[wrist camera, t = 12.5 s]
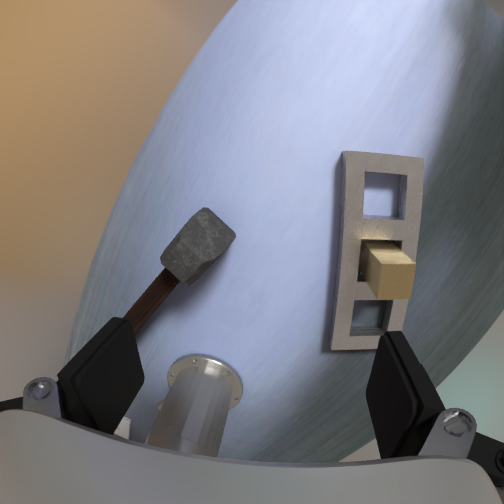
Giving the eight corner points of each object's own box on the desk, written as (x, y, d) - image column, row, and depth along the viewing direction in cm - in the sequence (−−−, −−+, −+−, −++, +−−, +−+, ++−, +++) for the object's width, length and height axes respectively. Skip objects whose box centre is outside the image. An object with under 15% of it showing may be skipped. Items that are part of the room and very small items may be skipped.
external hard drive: (83, 392, 53) (132, 418, 53) (85, 412, 56) (130, 436, 56) (80, 397, 52) (129, 423, 52) (82, 417, 54) (128, 441, 54)
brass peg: (386, 269, 38) (410, 298, 29) (359, 270, 38) (377, 299, 30) (389, 241, 37) (416, 263, 28) (361, 240, 37) (381, 263, 28)
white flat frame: (392, 338, 41) (397, 347, 38) (328, 340, 42) (330, 349, 39) (415, 158, 33) (424, 158, 31) (342, 151, 34) (346, 150, 32)
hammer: (137, 339, 50) (244, 224, 38) (105, 380, 40) (218, 261, 28) (117, 321, 49) (216, 198, 37) (82, 359, 39) (179, 225, 27)
